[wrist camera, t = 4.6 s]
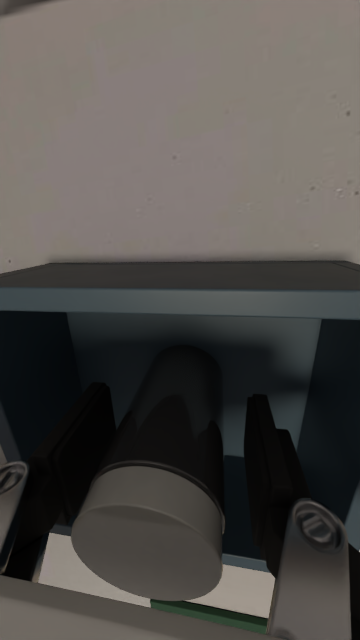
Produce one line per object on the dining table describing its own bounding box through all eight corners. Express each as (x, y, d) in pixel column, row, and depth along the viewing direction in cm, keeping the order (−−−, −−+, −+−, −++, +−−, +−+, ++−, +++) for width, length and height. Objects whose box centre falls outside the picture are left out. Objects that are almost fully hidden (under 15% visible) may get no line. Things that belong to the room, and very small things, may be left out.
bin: (88, 440, 17) (32, 529, 12) (50, 263, 13) (-63, 286, 8) (303, 465, 15) (346, 587, 10) (346, 260, 11) (463, 291, 6)
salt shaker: (151, 405, 15) (81, 586, 7) (146, 342, 13) (50, 490, 6) (221, 410, 14) (223, 616, 7) (224, 345, 12) (231, 517, 5)
